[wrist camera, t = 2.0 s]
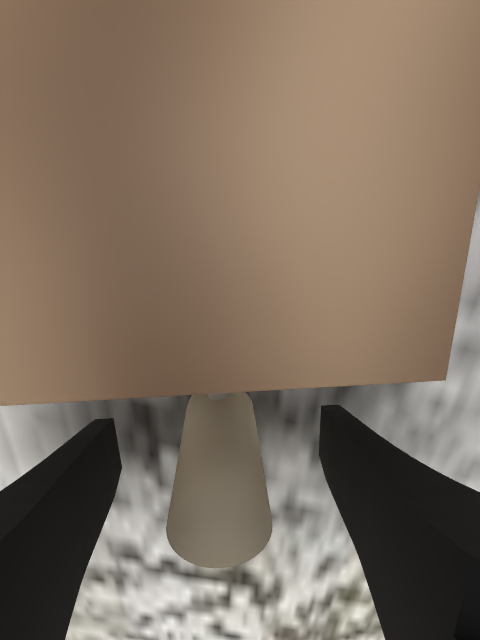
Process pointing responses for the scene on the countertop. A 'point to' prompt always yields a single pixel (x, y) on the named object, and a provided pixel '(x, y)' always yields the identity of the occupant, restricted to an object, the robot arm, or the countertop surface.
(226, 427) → the cord block
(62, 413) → the countertop surface
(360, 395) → the countertop surface
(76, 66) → the panel
